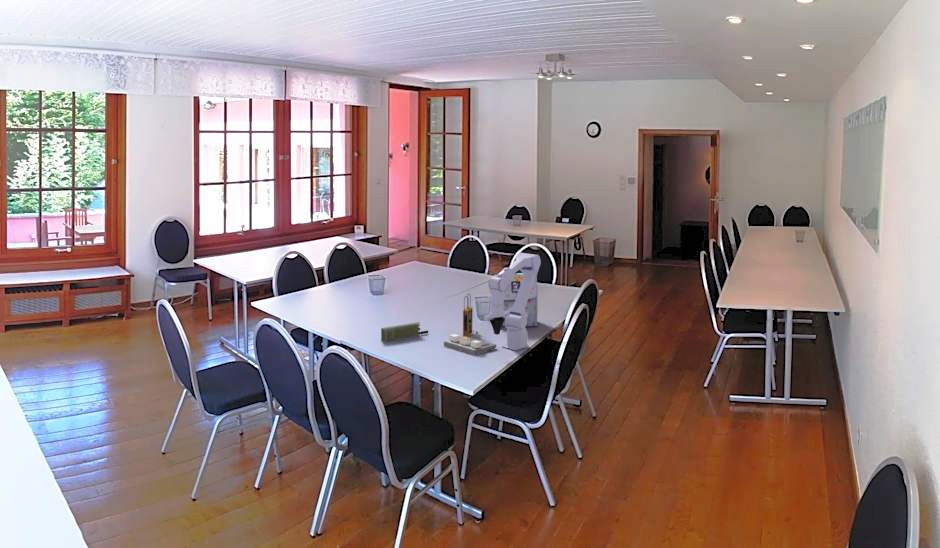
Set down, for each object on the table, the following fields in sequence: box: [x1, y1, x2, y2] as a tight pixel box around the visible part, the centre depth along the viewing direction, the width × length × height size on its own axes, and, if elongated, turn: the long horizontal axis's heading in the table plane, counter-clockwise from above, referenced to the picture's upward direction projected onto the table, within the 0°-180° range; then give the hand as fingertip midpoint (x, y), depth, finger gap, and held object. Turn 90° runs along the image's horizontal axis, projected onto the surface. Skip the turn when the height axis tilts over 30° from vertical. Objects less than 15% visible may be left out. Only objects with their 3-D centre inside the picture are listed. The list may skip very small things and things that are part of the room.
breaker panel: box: [443, 336, 497, 355], centre depth 346 cm, size 14×20×2 cm
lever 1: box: [449, 333, 461, 342], centre depth 348 cm, size 3×4×2 cm
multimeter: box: [462, 293, 484, 339], centre depth 364 cm, size 15×10×20 cm
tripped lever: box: [460, 336, 470, 345], centre depth 343 cm, size 3×4×3 cm
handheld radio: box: [380, 321, 429, 342], centre depth 361 cm, size 7×3×25 cm
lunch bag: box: [494, 272, 539, 327], centre depth 385 cm, size 22×17×26 cm
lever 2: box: [471, 340, 481, 348], centre depth 338 cm, size 3×4×2 cm
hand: (496, 333), depth 333 cm, fingers closed
